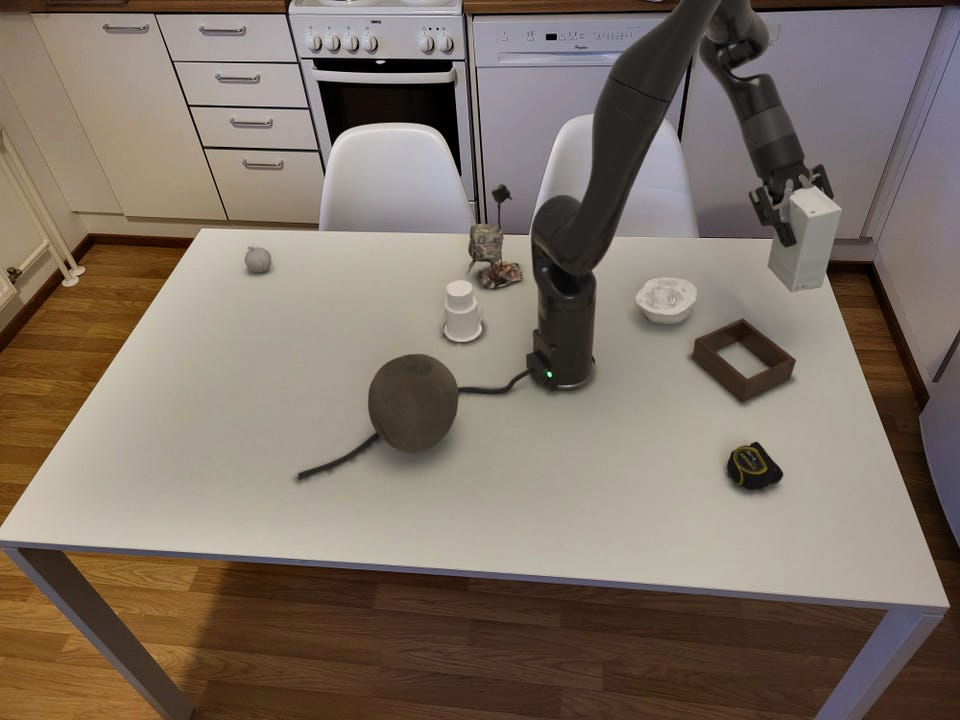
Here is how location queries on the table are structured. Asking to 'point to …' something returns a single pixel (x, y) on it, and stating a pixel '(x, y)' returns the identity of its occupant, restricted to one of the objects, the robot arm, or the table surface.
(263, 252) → the garlic
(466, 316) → the downlight
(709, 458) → the table surface
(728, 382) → the crate
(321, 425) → the table surface
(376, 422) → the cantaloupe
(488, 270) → the plant with pod
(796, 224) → the cosmetic box
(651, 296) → the cell model
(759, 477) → the tape measure
